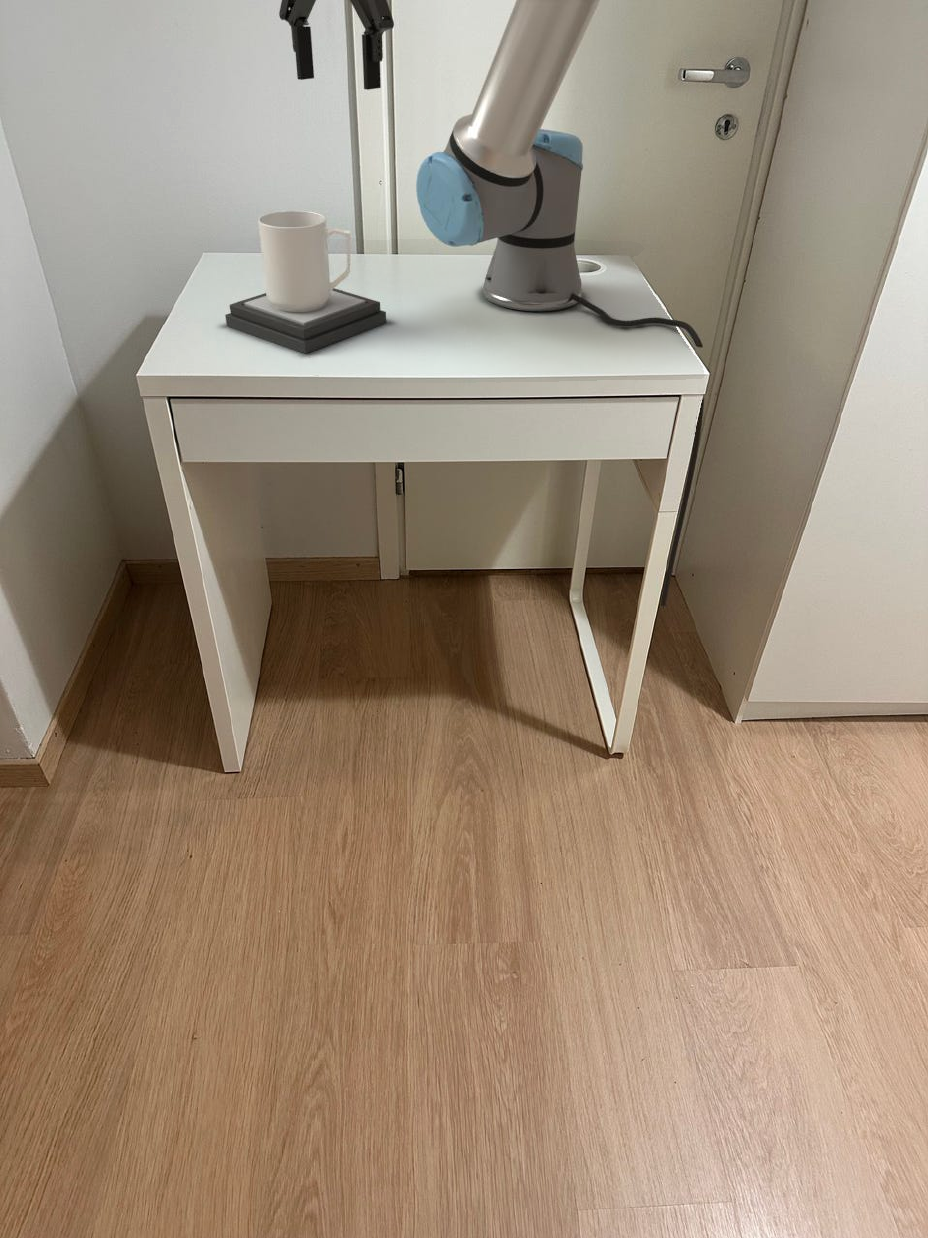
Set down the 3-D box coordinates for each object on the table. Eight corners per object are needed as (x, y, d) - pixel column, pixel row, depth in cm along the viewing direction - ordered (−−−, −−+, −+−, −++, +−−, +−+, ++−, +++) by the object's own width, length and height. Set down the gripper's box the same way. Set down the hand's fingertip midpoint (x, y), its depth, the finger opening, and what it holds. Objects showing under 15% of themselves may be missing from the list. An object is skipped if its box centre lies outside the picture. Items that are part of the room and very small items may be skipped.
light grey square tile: (366, 310, 125) (365, 300, 125) (304, 332, 118) (304, 322, 117) (307, 291, 131) (306, 282, 130) (245, 312, 124) (243, 302, 123)
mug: (265, 314, 119) (255, 227, 112) (269, 293, 126) (260, 210, 119) (354, 313, 120) (349, 227, 113) (353, 292, 127) (349, 210, 120)
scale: (386, 322, 127) (385, 301, 125) (305, 354, 117) (303, 331, 115) (308, 298, 135) (306, 277, 133) (226, 325, 125) (223, 304, 123)
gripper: (418, -102, 113) (419, 90, 126) (283, -103, 124) (298, 72, 137) (378, -105, 108) (384, 95, 121) (242, -106, 120) (261, 76, 133)
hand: (338, 83), depth 129 cm, fingers open, 13 cm apart
